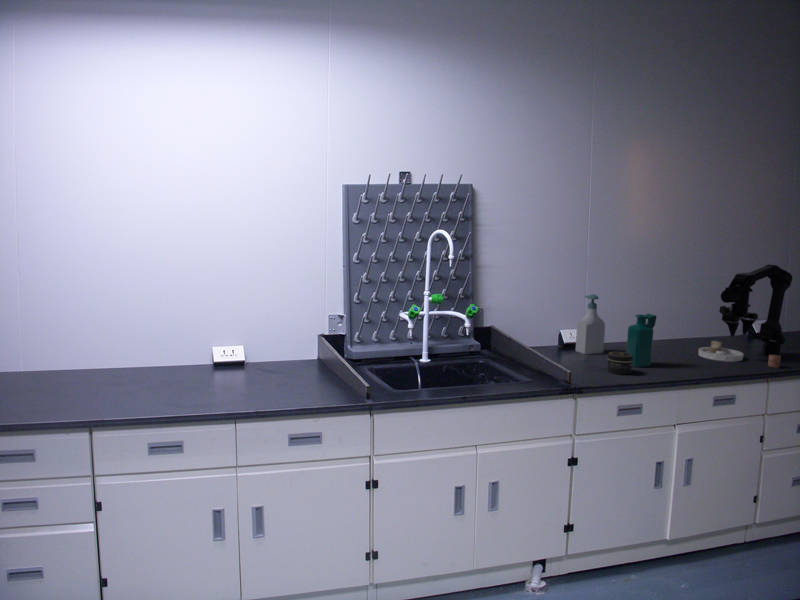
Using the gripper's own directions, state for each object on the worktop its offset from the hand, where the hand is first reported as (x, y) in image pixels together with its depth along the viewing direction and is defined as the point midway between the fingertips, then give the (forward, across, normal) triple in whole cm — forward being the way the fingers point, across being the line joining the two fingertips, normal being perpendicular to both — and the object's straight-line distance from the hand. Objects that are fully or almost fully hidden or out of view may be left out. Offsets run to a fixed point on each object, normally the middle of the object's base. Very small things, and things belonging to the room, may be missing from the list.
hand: (738, 335), depth 286 cm
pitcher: (+11, +51, -12) cm, 54 cm away
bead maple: (+10, 0, -10) cm, 14 cm away
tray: (+11, +3, -6) cm, 13 cm away
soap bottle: (+11, +52, -40) cm, 67 cm away
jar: (+11, +70, -7) cm, 71 cm away
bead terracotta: (+11, 0, +17) cm, 20 cm away
